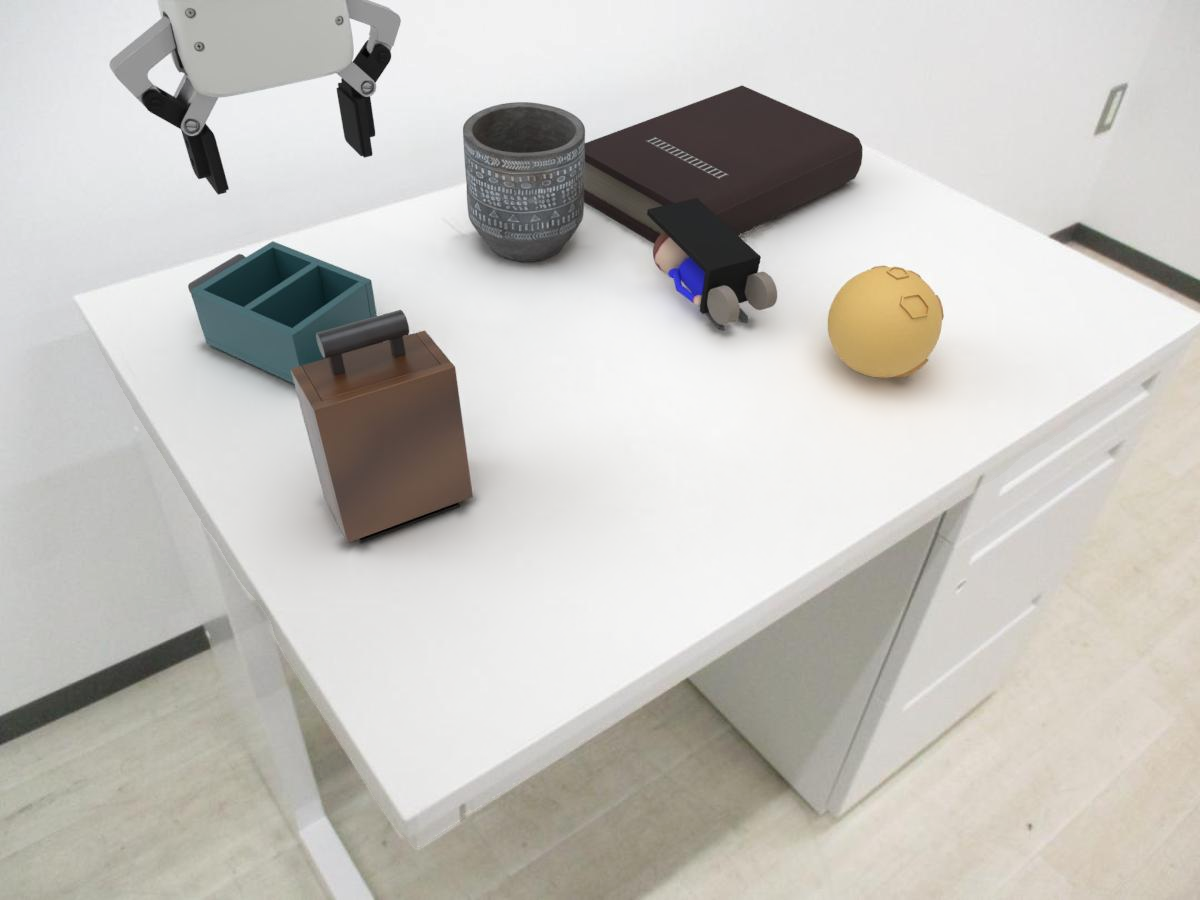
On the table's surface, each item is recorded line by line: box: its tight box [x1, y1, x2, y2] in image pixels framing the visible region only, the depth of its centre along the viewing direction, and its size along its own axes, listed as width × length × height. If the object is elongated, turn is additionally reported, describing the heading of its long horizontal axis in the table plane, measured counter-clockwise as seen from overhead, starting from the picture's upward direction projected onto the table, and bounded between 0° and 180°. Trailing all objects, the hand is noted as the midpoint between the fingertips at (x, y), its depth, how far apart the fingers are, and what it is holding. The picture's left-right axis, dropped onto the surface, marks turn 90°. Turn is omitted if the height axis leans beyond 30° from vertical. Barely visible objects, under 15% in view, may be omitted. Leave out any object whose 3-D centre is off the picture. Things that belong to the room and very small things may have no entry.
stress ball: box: [827, 265, 945, 379], centre depth 85 cm, size 10×10×10 cm
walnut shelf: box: [291, 309, 474, 543], centre depth 69 cm, size 15×10×6 cm
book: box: [584, 84, 863, 245], centre depth 110 cm, size 28×20×6 cm
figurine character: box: [647, 198, 778, 332], centre depth 93 cm, size 7×8×15 cm
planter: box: [462, 101, 586, 263], centre depth 98 cm, size 12×12×13 cm
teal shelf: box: [187, 240, 378, 385], centre depth 87 cm, size 15×10×6 cm, turn 60°
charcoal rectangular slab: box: [358, 502, 461, 544], centre depth 74 cm, size 6×8×1 cm
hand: (290, 166), depth 62 cm, fingers open, 9 cm apart
